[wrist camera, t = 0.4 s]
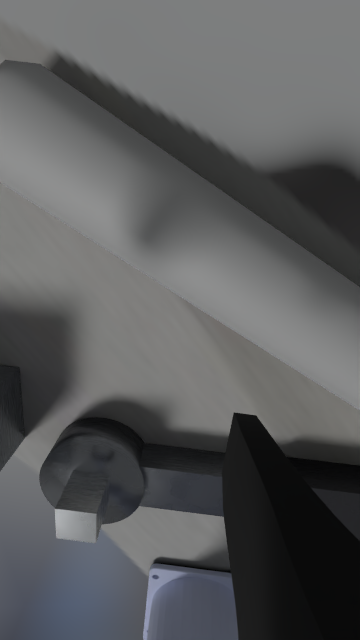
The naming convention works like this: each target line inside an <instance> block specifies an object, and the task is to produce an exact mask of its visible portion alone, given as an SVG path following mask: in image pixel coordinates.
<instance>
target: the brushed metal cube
mask: <svg viewBox="0 0 360 640" xmlns="http://www.w3.org/2000/svg"><path fill="white" fill-rule="evenodd" d="M24 439H25V435H24V423H23V410H22V398H21V386H20V374H19V367H11V366H2V365H0V471H1V470H2V468H3V467H4V466H5V464H6V463H7V461H8V460H9V459H10V457H11V456H12V455H13V453H14V452H15V451H16V449H17V448H18V447H19V445H20V444H21V443H22V441H23V440H24Z"/></svg>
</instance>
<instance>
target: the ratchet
mask: <svg viewBox="0 0 360 640" xmlns="http://www.w3.org/2000/svg"><path fill="white" fill-rule="evenodd" d="M225 454H226V453H219V452H211V451H203V450H195V449H187V448H179V447H170V446H162V445H154V444H146V443H144V442H143V441H142V439H141V438H140V437H139V436H138V435H137V434H136V433H135V432H134V431H133V430H132V429H130V428H129V427H127V426H125V425H124V424H122V423H119V422H117V421H114V420H110V419H105V418H88V419H83V420H79V421H77V422H75V423H73V424H71V425H69V426H68V427H67V428H66V429H65V430H64V431H63V432H62V433H61V435H60V436H59V438H58V440H57V441H56V443H55V445H54V446H53V448H52V450H51V451H50V453H49V455H48V456H47V458H46V460H45V461H44V463H43V465H42V467H41V470H40V486H41V489H42V491H43V493H44V495H45V497H46V498H47V500H48V501H49V502H50V503H51V505H52V506H54V507H55V521H56V538H61V539H68V540H76V541H83V542H91V543H96V541H97V538H98V535H99V532H100V528H101V525H102V524H110V523H114V522H118V521H121V520H123V519H125V518H127V517H128V516H130V515H131V514H132V513H133V512H134V511H135V510H136V509H137V508H138V506H144V507H152V508H160V509H168V510H176V511H183V512H191V513H199V514H207V515H215V516H223V517H224V513H223V493H222V469H223V464H224V459H225ZM287 458H288V460H289V461H290V462H291V464H292V465H293V466H294V467H295V469H296V470H297V471H298V473H299V474H300V475H301V476H302V478H303V479H304V480H305V481H306V483H307V484H308V485H309V486H310V487H311V489H312V490H313V491H314V492H315V493H316V494H317V495H318V497H319V498H320V499H321V500H322V501H323V502H324V503H325V505H326V506H327V507H328V508H329V509H330V510H331V511H332V513H333V514H334V515H335V516H336V517H337V518H338V519H339V520H340V521H341V522H342V523H343V524H344V526H345V527H346V528H347V529H348V530H349V531H350V532H351V533H352V534H353V535H354V536H355V537H356V538H357V539H358V540H359V541H360V466H356V465H347V464H339V463H331V462H323V461H315V460H307V459H298V458H290V457H287Z"/></svg>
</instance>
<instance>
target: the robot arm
mask: <svg viewBox="0 0 360 640" xmlns="http://www.w3.org/2000/svg"><path fill="white" fill-rule="evenodd" d="M222 493H223V513H224V521H225V529H226V537H227V545H228V552H229V560H230V568H231V573H227V572H219V571H211V570H204V569H196V568H188V567H181V566H173V565H165V564H158V563H155V564H152V565H151V567H150V573H149V583H148V593H147V603H146V613H145V624H144V632H143V639H144V640H360V541H359V540H358V539H357V538H356V537H355V536H354V535H353V534H352V533H351V532H350V531H349V530H348V529H347V528H346V527H345V526H344V524H343V523H342V522H341V521H340V520H339V519H338V518H337V517H336V516H335V515H334V514H333V513H332V511H331V510H330V509H329V508H328V507H327V506H326V505H325V503H324V502H323V501H322V500H321V499H320V498H319V497H318V495H317V494H316V493H315V492H314V491H313V490H312V489H311V487H310V486H309V485H308V484H307V483H306V481H305V480H304V479H303V478H302V476H301V475H300V474H299V473H298V471H297V470H296V469H295V467H294V466H293V465H292V464H291V462H290V461H289V460H288V458H287V457H286V456H285V454H284V453H283V452H282V450H281V449H280V448H279V446H278V445H277V444H276V442H275V441H274V440H273V438H272V437H271V435H270V434H269V433H268V431H267V430H266V428H265V427H264V426H263V424H262V423H261V422H260V420H259V419H258V418H257V416H256V415H248V414H241V413H234V415H233V419H232V424H231V429H230V434H229V439H228V444H227V449H226V454H225V459H224V464H223V469H222Z"/></svg>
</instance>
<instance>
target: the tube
mask: <svg viewBox="0 0 360 640" xmlns="http://www.w3.org/2000/svg"><path fill="white" fill-rule="evenodd" d="M0 183H2V184H3V185H5V186H6V187H8V188H10V189H11V190H13V191H14V192H16V193H17V194H19V195H21V196H22V197H24V198H25V199H27V200H29V201H30V202H32V203H33V204H35V205H36V206H38V207H40V208H41V209H43V210H44V211H46V212H47V213H49V214H51V215H52V216H54V217H55V218H57V219H58V220H60V221H62V222H63V223H65V224H66V225H68V226H70V227H71V228H73V229H74V230H76V231H77V232H79V233H81V234H82V235H84V236H85V237H87V238H88V239H90V240H92V241H93V242H95V243H96V244H98V245H99V246H101V247H103V248H104V249H106V250H107V251H109V252H111V253H112V254H114V255H115V256H117V257H118V258H120V259H122V260H123V261H125V262H126V263H128V264H129V265H131V266H133V267H134V268H136V269H137V270H139V271H140V272H142V273H144V274H145V275H147V276H148V277H150V278H152V279H153V280H155V281H156V282H158V283H159V284H161V285H163V286H164V287H166V288H167V289H169V290H170V291H172V292H174V293H175V294H177V295H178V296H180V297H181V298H183V299H185V300H186V301H188V302H189V303H191V304H193V305H194V306H196V307H197V308H199V309H200V310H202V311H204V312H205V313H207V314H208V315H210V316H211V317H213V318H215V319H216V320H218V321H219V322H221V323H222V324H224V325H226V326H227V327H229V328H230V329H232V330H234V331H235V332H237V333H238V334H240V335H241V336H243V337H245V338H246V339H248V340H249V341H251V342H252V343H254V344H256V345H257V346H259V347H260V348H262V349H263V350H265V351H267V352H268V353H270V354H271V355H273V356H275V357H276V358H278V359H279V360H281V361H282V362H284V363H286V364H287V365H289V366H290V367H292V368H293V369H295V370H297V371H298V372H300V373H301V374H303V375H304V376H306V377H308V378H309V379H311V380H312V381H314V382H316V383H317V384H319V385H320V386H322V387H323V388H325V389H327V390H328V391H330V392H331V393H333V394H334V395H336V396H338V397H339V398H341V399H342V400H344V401H345V402H347V403H349V404H350V405H352V406H353V407H355V408H357V409H358V410H360V287H359V286H358V285H356V284H355V283H353V282H352V281H350V280H349V279H348V278H346V277H345V276H343V275H342V274H340V273H339V272H338V271H336V270H335V269H333V268H332V267H330V266H329V265H328V264H326V263H325V262H323V261H322V260H320V259H319V258H317V257H316V256H315V255H313V254H312V253H310V252H309V251H307V250H306V249H305V248H303V247H302V246H300V245H299V244H297V243H296V242H295V241H293V240H292V239H290V238H289V237H287V236H286V235H284V234H283V233H282V232H280V231H279V230H277V229H276V228H274V227H273V226H272V225H270V224H269V223H267V222H266V221H264V220H263V219H262V218H260V217H259V216H257V215H256V214H254V213H253V212H251V211H250V210H249V209H247V208H246V207H244V206H243V205H241V204H240V203H239V202H237V201H236V200H234V199H233V198H231V197H230V196H229V195H227V194H226V193H224V192H223V191H221V190H220V189H218V188H217V187H216V186H214V185H213V184H211V183H210V182H208V181H207V180H206V179H204V178H203V177H201V176H200V175H198V174H197V173H196V172H194V171H193V170H191V169H190V168H188V167H187V166H185V165H184V164H183V163H181V162H180V161H178V160H177V159H175V158H174V157H173V156H171V155H170V154H168V153H167V152H165V151H164V150H163V149H161V148H160V147H158V146H157V145H155V144H154V143H152V142H151V141H150V140H148V139H147V138H145V137H144V136H142V135H141V134H140V133H138V132H137V131H135V130H134V129H132V128H131V127H130V126H128V125H127V124H125V123H124V122H122V121H121V120H119V119H118V118H117V117H115V116H114V115H112V114H111V113H109V112H108V111H107V110H105V109H104V108H102V107H101V106H99V105H98V104H97V103H95V102H94V101H92V100H91V99H89V98H88V97H86V96H85V95H84V94H82V93H81V92H79V91H78V90H76V89H75V88H74V87H72V86H71V85H69V84H68V83H66V82H65V81H64V80H62V79H61V78H59V77H58V76H56V75H55V74H53V73H52V72H51V71H49V70H48V69H46V68H45V67H43V66H42V65H41V64H37V63H28V62H19V61H10V60H5V61H4V62H3V63H2V64H1V65H0Z"/></svg>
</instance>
